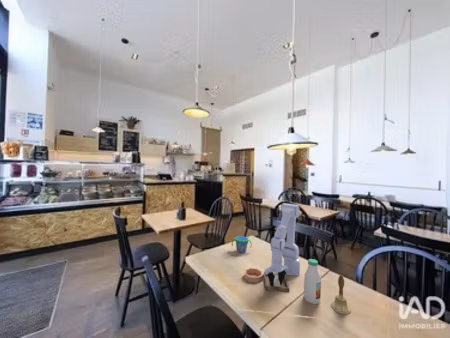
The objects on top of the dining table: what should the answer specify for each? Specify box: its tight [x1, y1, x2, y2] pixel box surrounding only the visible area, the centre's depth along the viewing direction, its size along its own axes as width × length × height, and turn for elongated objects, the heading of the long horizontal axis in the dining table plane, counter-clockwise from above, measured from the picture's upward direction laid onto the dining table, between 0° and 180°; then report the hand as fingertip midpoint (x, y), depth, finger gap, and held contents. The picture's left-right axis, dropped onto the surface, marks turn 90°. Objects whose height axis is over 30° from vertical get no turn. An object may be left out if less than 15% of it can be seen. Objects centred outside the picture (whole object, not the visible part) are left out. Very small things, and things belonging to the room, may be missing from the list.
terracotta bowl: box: [244, 267, 264, 284], centre depth 120 cm, size 10×10×4 cm
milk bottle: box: [303, 258, 322, 305], centre depth 101 cm, size 8×8×20 cm
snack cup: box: [231, 235, 252, 254], centre depth 158 cm, size 16×10×10 cm
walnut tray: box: [263, 271, 290, 292], centre depth 115 cm, size 12×16×2 cm
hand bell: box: [330, 274, 352, 315], centre depth 96 cm, size 8×8×16 cm
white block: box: [274, 279, 280, 287], centre depth 111 cm, size 3×4×3 cm
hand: (276, 284), depth 110 cm, fingers open, 5 cm apart
